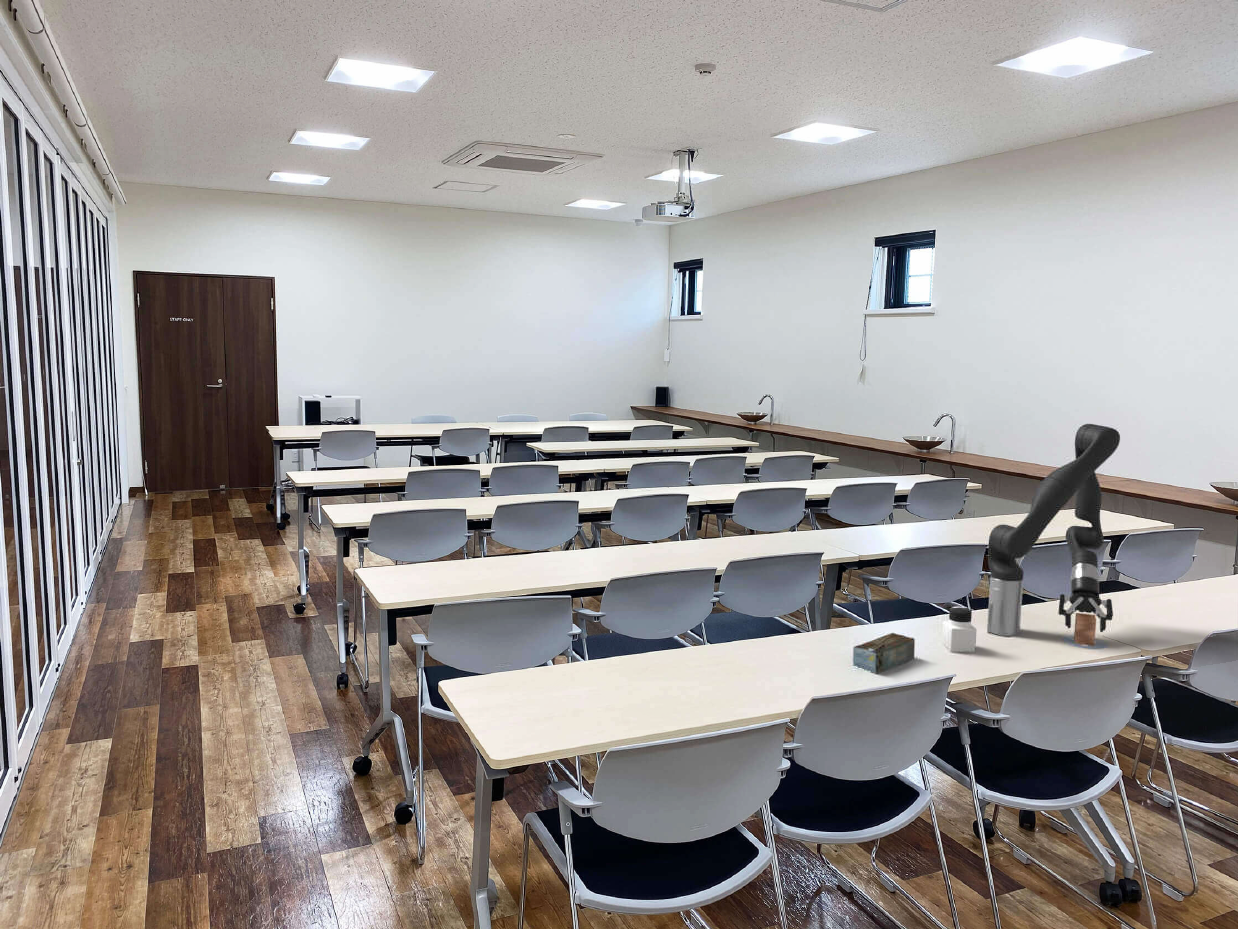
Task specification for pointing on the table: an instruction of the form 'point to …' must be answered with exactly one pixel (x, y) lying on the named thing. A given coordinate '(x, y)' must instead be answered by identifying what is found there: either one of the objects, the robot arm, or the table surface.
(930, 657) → the table surface
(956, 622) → the medicine bottle
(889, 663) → the grey boxy piece
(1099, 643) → the letter mat
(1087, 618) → the terracotta block
